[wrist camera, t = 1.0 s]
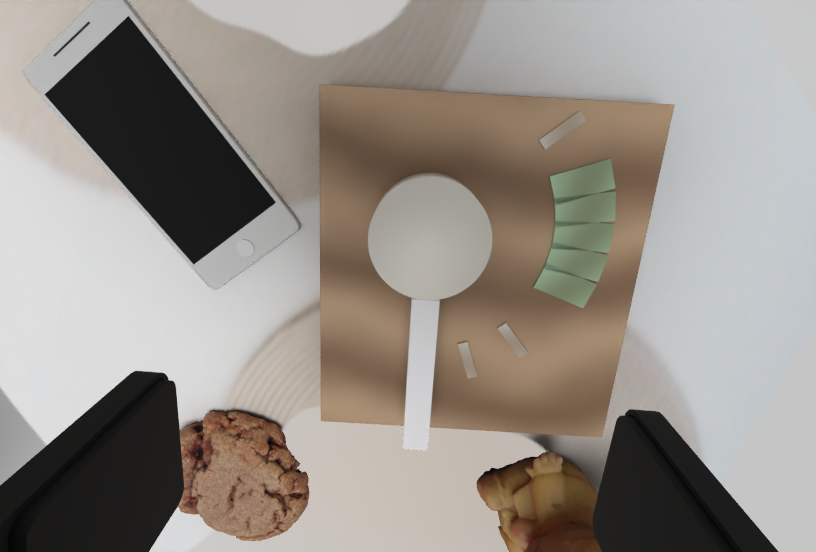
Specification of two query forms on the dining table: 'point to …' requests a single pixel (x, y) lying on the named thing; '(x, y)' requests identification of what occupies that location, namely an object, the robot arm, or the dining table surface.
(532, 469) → the figurine
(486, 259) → the peg dial
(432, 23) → the dining table surface
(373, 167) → the tuner board
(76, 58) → the smartphone
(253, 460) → the cookie
